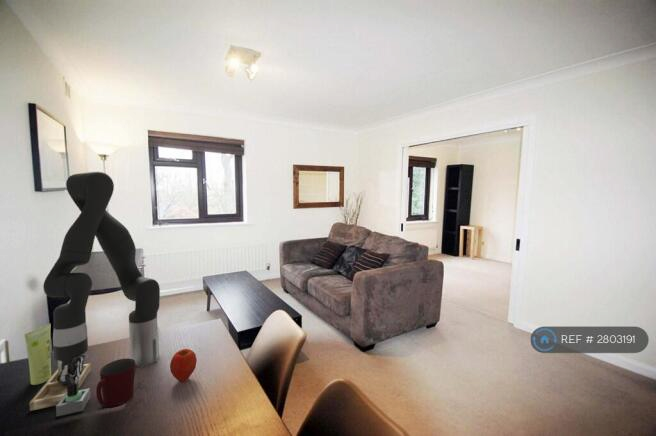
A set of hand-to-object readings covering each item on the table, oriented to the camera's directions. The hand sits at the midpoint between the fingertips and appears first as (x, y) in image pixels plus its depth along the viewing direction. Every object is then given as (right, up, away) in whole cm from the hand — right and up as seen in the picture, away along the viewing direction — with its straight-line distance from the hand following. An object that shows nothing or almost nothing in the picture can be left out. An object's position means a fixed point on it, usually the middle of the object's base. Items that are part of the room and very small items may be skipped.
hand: (73, 394), depth 84 cm
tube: (-22, -4, +12) cm, 25 cm away
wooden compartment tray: (-11, -4, +8) cm, 14 cm away
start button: (0, -3, 0) cm, 3 cm away
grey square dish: (0, -5, 0) cm, 5 cm away
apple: (+26, -5, +15) cm, 30 cm away
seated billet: (-12, -3, +12) cm, 17 cm away
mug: (+10, -5, +3) cm, 12 cm away
